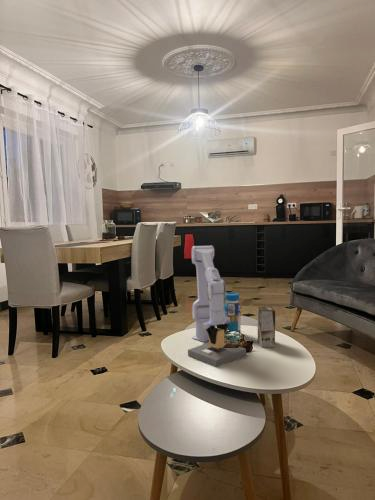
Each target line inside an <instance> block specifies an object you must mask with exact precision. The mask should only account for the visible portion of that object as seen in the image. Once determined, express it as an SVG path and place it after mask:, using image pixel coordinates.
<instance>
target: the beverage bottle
mask: <svg viewBox="0 0 375 500" xmlns="http://www.w3.org/2000/svg"><path fill="white" fill-rule="evenodd" d="M224 300H225V301H226V302H225V304H224V317H230V322H226V324H228V328H227V330H229V331H236V332H239V333H240V334H241V331H242V330H241V325H242V322H241V321H242V319H241V315H242V311H241V308H242V307H241V304H240V302H239V301H240V294H239V293H238V292H225V294H224Z"/></svg>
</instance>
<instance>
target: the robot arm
mask: <svg viewBox="0 0 375 500" xmlns="http://www.w3.org/2000/svg"><path fill="white" fill-rule="evenodd" d="M214 258H215V248H214V246H213V245H193V246H192V247H191V263H192V264H193V265H195V269H196V286H197V299H196V300H195V301H193V303H192V306H191V315H192V319H193V320H194V321H195V336H192V337H191V339H193V340H197V341H200V342H202V343H204V342H209V338H210V342H211V343H212V344H215V343H216V334H217V331H218V329H217V328H219V329H223V330H224V336H225V332H226V330H227V328H228V324H226V322H230V317H224V305H225V304H224V302H225V301H224V300H225V294H226V293H227V292H226V291H227V288H226V286H227V285H226V283H225V280H223V278H221V275H220V272H219V269H217V268H216V267H215V265H214V262H213V261H214ZM215 327H216V328H215Z"/></svg>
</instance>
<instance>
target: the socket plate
mask: <svg viewBox="0 0 375 500" xmlns="http://www.w3.org/2000/svg"><path fill="white" fill-rule="evenodd" d="M246 355H247V348H245V347H242V346H239V347H238V348H223V347H221V348H219V349H217V348H214V347H211V346H209V342H207V343H204V344H201V345H198V346H195V347H191V348H188V349H187V356H188V357H191V358H193V359H195V360H198V361H200V362H203V363H205V364H209V365H211V366H213V367H216V368H217V367H220V366H222V365H225V364H227V363H229V362H231V361H234V360H236V359H239V358H241V357H244V356H246Z"/></svg>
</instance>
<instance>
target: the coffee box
mask: <svg viewBox="0 0 375 500" xmlns="http://www.w3.org/2000/svg"><path fill="white" fill-rule="evenodd" d="M257 342H258V344H259V346H260V348H275V347H276V309H274V308H273V307H272V306H257Z"/></svg>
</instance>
